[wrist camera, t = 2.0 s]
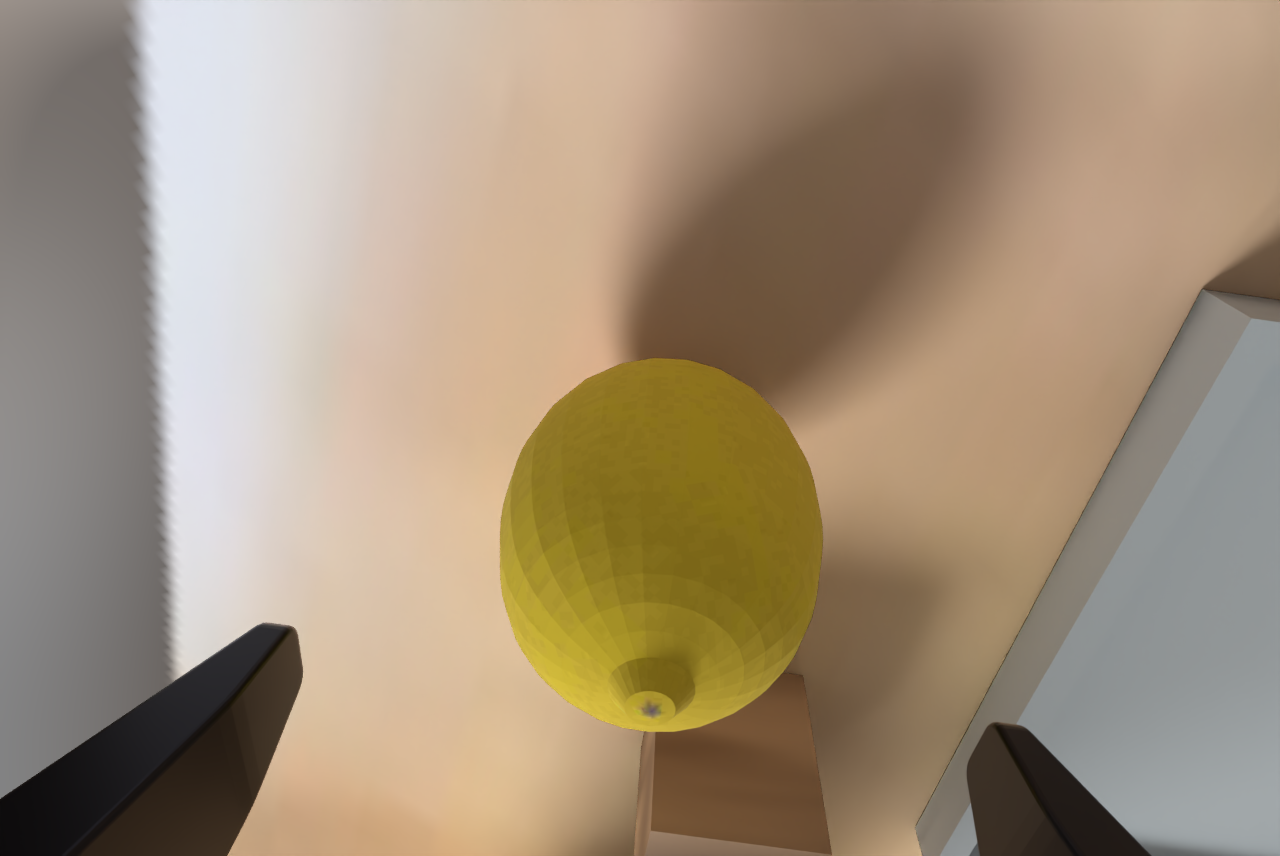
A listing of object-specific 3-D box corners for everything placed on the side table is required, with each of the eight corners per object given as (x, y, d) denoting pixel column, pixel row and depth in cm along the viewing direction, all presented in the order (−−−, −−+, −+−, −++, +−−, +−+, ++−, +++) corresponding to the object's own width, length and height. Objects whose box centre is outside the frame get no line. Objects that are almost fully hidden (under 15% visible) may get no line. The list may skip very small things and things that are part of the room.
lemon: (818, 481, 17) (900, 805, 10) (597, 537, 19) (540, 859, 12) (755, 262, 15) (809, 497, 8) (503, 341, 16) (361, 606, 9)
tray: (1287, 878, 24) (1322, 928, 23) (915, 827, 24) (927, 876, 22) (1806, 374, 15) (1913, 411, 13) (1201, 288, 15) (1251, 317, 13)
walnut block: (771, 764, 23) (790, 946, 18) (641, 746, 23) (629, 925, 18) (802, 674, 21) (831, 854, 16) (659, 654, 21) (650, 830, 16)
